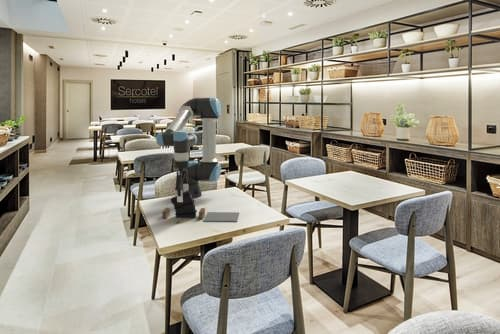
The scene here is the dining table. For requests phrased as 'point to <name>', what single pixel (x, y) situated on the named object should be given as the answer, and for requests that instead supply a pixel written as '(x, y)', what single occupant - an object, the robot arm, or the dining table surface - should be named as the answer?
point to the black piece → (184, 206)
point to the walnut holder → (167, 213)
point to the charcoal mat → (221, 217)
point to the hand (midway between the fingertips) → (183, 198)
